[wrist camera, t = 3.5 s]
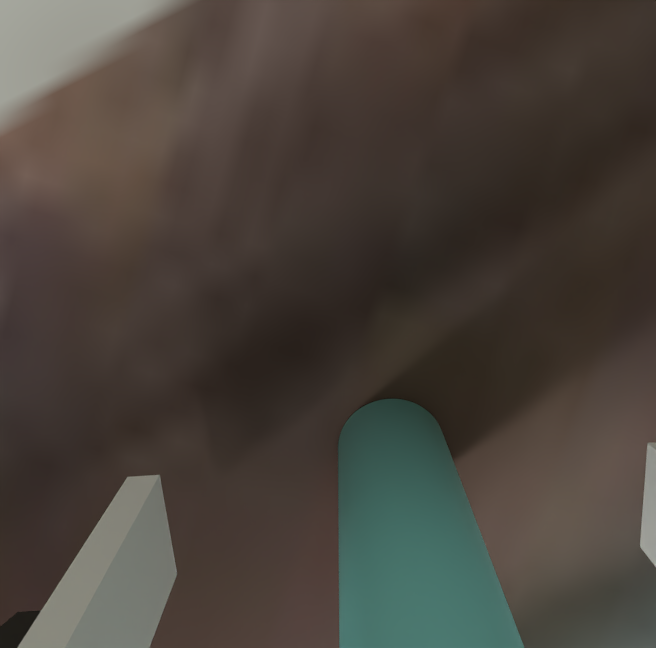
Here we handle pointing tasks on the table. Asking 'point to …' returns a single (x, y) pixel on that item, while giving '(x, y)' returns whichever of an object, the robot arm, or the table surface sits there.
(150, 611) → the robot arm
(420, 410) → the peg
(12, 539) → the table surface
